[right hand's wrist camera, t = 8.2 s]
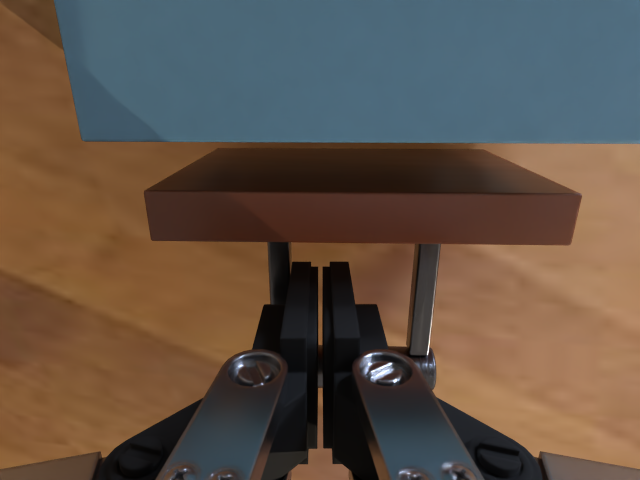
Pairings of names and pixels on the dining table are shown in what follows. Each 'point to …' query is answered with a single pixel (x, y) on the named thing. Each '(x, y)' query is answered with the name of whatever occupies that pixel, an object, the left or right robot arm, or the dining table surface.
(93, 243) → the dining table surface
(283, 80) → the cabinet
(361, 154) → the drawer
